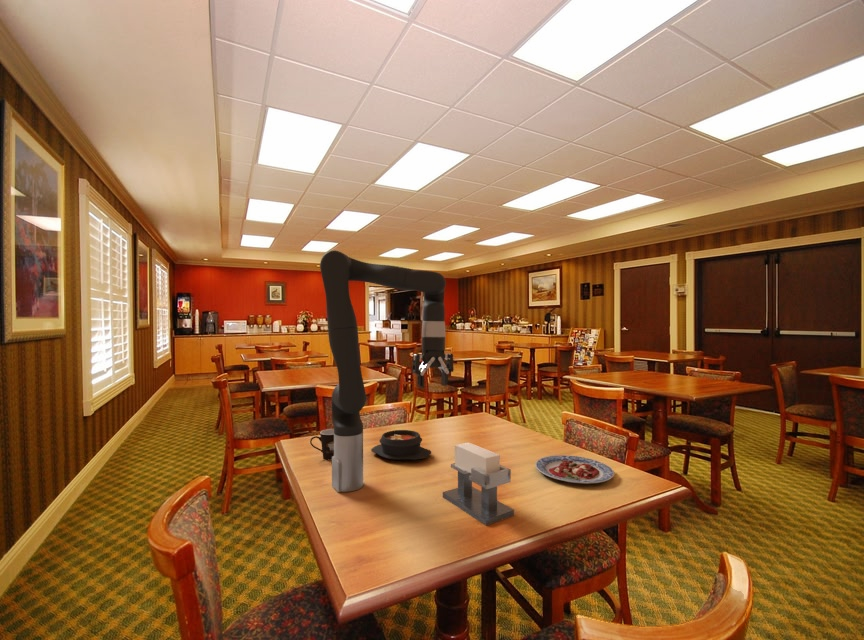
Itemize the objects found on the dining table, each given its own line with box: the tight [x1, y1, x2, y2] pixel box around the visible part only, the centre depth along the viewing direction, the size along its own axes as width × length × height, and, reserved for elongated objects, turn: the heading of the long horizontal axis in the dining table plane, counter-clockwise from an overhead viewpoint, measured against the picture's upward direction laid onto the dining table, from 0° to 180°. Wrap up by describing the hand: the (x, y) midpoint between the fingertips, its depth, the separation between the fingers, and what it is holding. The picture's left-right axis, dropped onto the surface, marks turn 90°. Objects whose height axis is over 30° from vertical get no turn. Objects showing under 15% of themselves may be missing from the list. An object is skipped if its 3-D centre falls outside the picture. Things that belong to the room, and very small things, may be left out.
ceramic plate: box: [535, 454, 615, 485], centre depth 137 cm, size 26×26×3 cm
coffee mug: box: [309, 428, 334, 461], centre depth 154 cm, size 12×9×10 cm
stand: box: [442, 462, 515, 526], centre depth 113 cm, size 10×20×12 cm, turn 32°
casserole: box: [370, 429, 432, 461], centre depth 156 cm, size 25×19×8 cm
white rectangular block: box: [454, 441, 501, 474], centre depth 113 cm, size 5×14×6 cm, turn 33°
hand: (432, 386), depth 125 cm, fingers open, 8 cm apart
